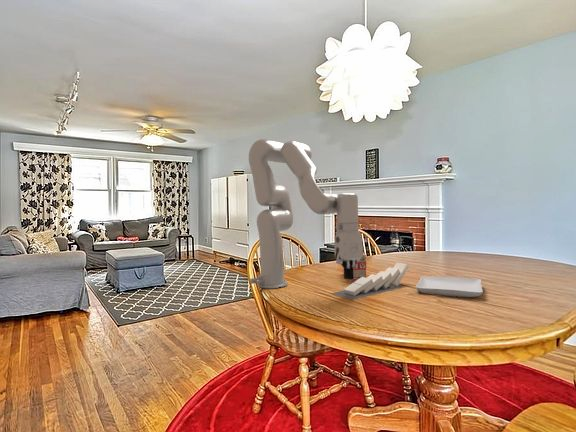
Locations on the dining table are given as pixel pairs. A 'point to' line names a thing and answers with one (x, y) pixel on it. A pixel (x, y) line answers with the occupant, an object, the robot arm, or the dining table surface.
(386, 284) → the domino
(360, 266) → the cardboard box
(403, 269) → the domino
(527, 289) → the dining table surface
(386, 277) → the domino
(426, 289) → the salad plate
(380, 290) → the domino mat
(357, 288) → the domino
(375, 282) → the domino
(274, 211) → the robot arm
